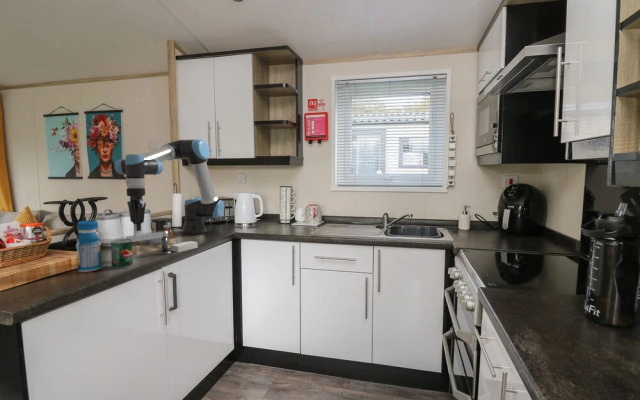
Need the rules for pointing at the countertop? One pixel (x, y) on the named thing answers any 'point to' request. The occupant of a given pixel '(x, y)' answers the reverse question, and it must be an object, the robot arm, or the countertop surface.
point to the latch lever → (148, 236)
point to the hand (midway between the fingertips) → (137, 237)
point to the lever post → (164, 247)
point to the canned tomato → (121, 253)
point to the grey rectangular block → (152, 241)
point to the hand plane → (145, 248)
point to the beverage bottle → (88, 246)
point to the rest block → (184, 246)
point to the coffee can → (161, 225)
